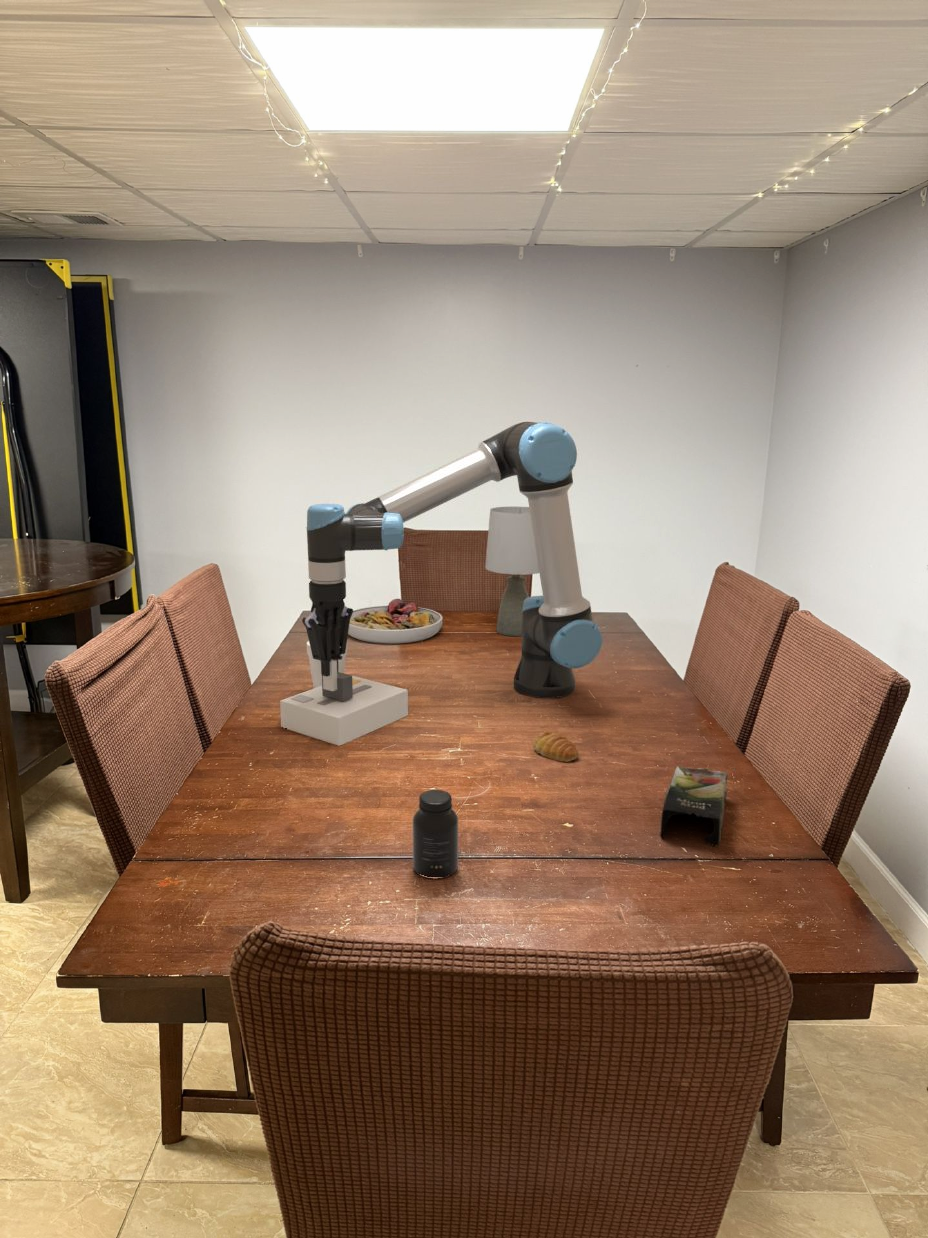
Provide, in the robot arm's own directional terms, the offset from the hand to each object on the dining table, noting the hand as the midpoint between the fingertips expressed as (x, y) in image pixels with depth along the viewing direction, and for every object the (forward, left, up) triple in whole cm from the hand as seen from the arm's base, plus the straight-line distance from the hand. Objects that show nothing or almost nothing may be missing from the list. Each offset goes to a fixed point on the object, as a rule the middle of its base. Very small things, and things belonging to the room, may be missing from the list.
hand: (330, 689), depth 186 cm
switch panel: (0, -5, -9) cm, 10 cm away
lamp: (+11, -91, -9) cm, 92 cm away
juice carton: (-78, -7, -9) cm, 79 cm away
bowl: (+40, -67, -9) cm, 79 cm away
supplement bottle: (-53, +32, -9) cm, 63 cm away
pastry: (-45, -17, -9) cm, 49 cm away
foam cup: (+15, -15, -9) cm, 23 cm away
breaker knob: (0, -2, -2) cm, 3 cm away
